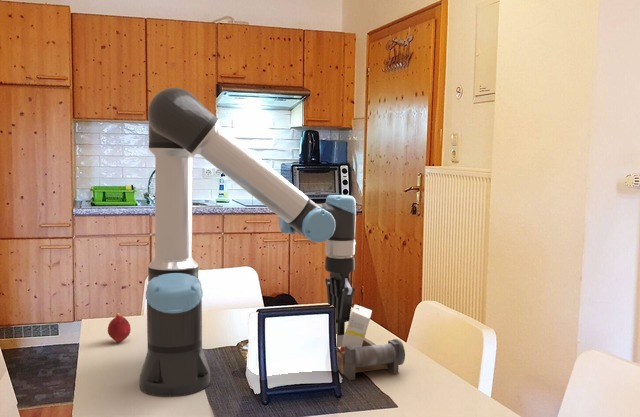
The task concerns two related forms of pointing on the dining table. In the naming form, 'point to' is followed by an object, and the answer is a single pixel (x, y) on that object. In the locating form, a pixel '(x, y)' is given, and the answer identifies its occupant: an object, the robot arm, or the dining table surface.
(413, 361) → the dining table surface
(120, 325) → the onion
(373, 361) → the grey roller holder
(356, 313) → the ink box
